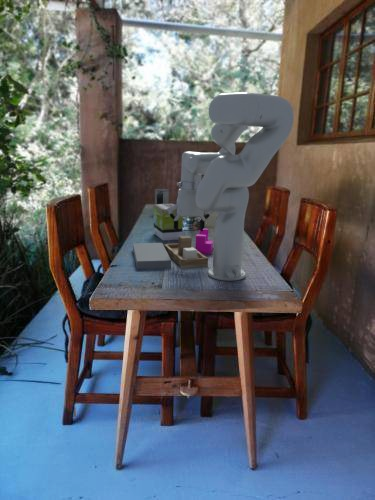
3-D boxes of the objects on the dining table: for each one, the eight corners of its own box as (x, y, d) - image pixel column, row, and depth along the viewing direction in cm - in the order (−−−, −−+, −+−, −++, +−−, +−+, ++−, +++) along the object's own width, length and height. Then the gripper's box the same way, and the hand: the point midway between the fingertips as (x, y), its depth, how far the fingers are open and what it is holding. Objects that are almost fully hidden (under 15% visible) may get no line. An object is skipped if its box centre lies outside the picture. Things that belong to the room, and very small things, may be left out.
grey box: (196, 260, 148) (197, 250, 147) (186, 261, 147) (187, 250, 146) (192, 257, 152) (193, 247, 151) (182, 258, 150) (183, 248, 149)
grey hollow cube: (153, 211, 258) (153, 188, 254) (177, 211, 261) (178, 188, 257) (155, 215, 244) (156, 191, 241) (181, 215, 247) (182, 191, 243)
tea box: (152, 233, 196) (152, 203, 192) (172, 232, 200) (172, 203, 196) (162, 240, 183) (162, 208, 179) (182, 239, 186) (183, 207, 182)
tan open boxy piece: (207, 267, 147) (208, 243, 144) (181, 269, 144) (182, 245, 141) (186, 250, 169) (187, 229, 166) (163, 252, 165) (163, 231, 163)
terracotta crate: (64, 405, 174) (64, 413, 175) (65, 410, 171) (66, 418, 172) (73, 403, 176) (74, 411, 177) (75, 408, 173) (75, 416, 174)
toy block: (210, 254, 163) (211, 236, 161) (195, 253, 163) (195, 235, 162) (213, 245, 177) (214, 229, 175) (199, 244, 178) (200, 228, 176)
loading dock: (171, 268, 143) (171, 260, 142) (137, 269, 140) (137, 261, 140) (162, 249, 167) (162, 242, 167) (133, 250, 165) (132, 243, 164)
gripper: (169, 186, 145) (167, 233, 149) (215, 187, 148) (213, 232, 153) (166, 184, 152) (165, 228, 156) (211, 184, 155) (208, 228, 160)
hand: (188, 230), depth 155 cm, fingers open, 9 cm apart
